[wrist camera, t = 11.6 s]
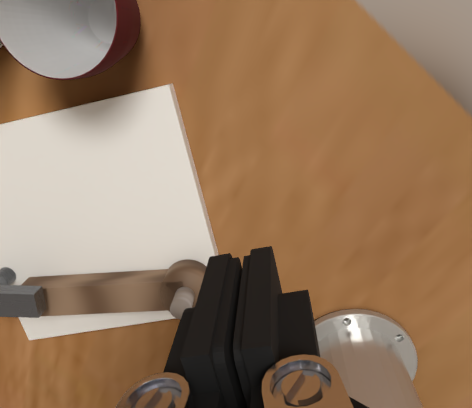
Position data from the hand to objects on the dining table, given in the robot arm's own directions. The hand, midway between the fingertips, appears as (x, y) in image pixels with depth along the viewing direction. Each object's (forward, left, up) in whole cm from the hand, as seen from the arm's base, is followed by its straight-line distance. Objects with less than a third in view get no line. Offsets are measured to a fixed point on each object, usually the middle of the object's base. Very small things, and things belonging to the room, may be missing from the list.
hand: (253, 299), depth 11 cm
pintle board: (-6, +18, -27) cm, 33 cm away
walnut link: (-12, +17, -25) cm, 33 cm away
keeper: (-10, +26, -26) cm, 38 cm away
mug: (+12, +10, -27) cm, 31 cm away
